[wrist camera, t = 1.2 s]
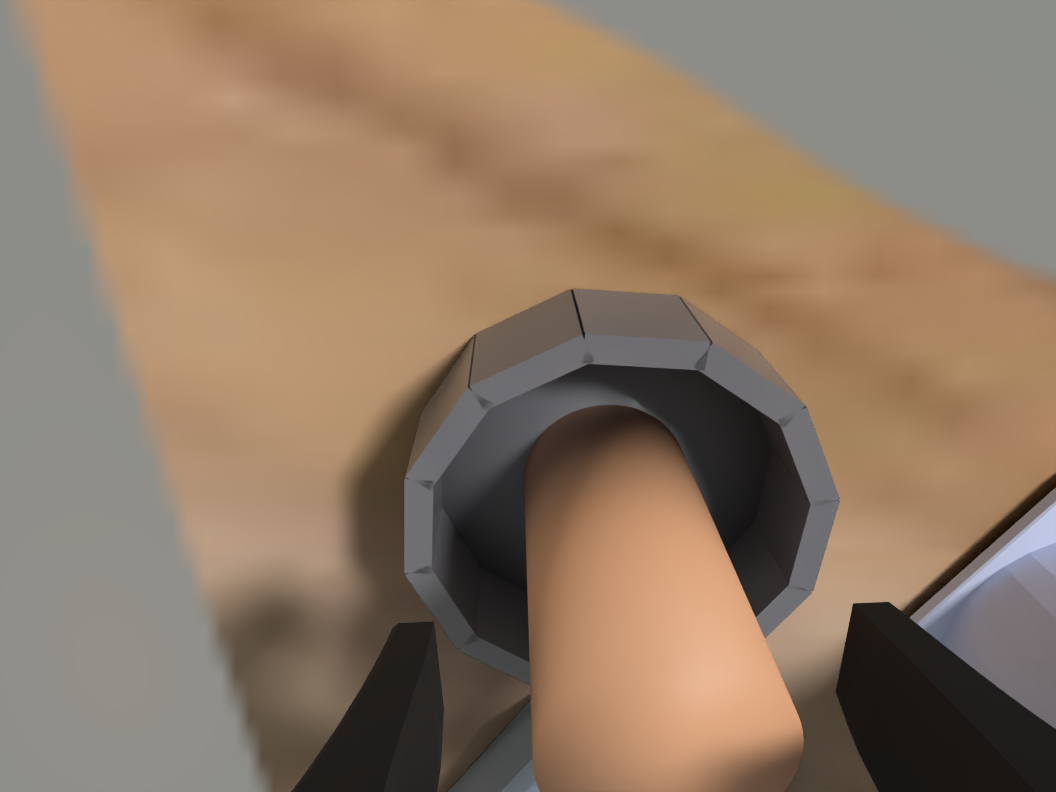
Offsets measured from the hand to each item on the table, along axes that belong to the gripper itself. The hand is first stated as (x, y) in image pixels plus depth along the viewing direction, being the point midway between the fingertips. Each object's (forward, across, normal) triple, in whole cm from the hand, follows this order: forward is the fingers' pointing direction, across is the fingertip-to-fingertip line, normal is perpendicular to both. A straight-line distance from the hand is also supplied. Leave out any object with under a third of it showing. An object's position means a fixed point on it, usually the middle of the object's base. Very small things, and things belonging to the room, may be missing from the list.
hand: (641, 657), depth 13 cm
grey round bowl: (+6, 0, 0) cm, 7 cm away
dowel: (+6, 0, 0) cm, 6 cm away
